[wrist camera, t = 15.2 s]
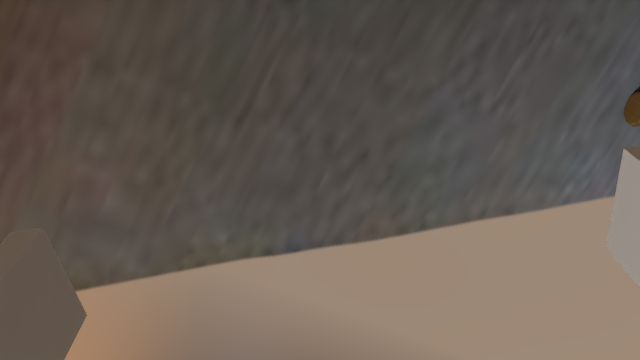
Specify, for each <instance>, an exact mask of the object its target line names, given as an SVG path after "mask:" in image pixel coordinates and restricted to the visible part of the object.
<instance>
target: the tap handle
mask: <svg viewBox="0 0 640 360" xmlns="http://www.w3.org/2000/svg"><path fill="white" fill-rule="evenodd" d="M624 116H625V119H626V121H627V122H628V123H629V124H631V125H632V126H640V91H638V92H635V93H634V94H633V95H632V96H631V97H630V98H629V99H628V101H627V103H626V105H625V109H624Z"/></svg>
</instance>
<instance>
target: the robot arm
mask: <svg viewBox="0 0 640 360" xmlns="http://www.w3.org/2000/svg"><path fill="white" fill-rule="evenodd" d="M606 249H607V250H608V251H609V253H610V254H611V255H612V256H613V257H614V258H615V260H616V261H617V262H618V263H619V264H620V265H621V267H622V268H623V269H624V270H625V271H626V272H627V273H628V275H629V276H630V277H631V278H632V279H633V280H634V282H635V283H636V284H637V285H638V286H639V287H640V146H638V147H631V148H624V150H623V155H622V161H621V166H620V172H619V177H618V183H617V188H616V194H615V199H614V205H613V210H612V216H611V222H610V228H609V233H608V238H607V244H606ZM86 316H87V315H86V312H85V310H84V308H83V306H82V305H81V302H80V301H79V298H78V296H77V294H76V292H75V290H74V288H73V286H72V284H71V282H70V280H69V279H68V277H67V275H66V273H65V271H64V269H63V267H62V265H61V263H60V261H59V259H58V257H57V255H56V253H55V251H54V249H53V247H52V245H51V243H50V241H49V239H48V237H47V235H46V233H45V231H44V229H43V228H36V229H28V230H21V231H13V232H10V233H9V234H8V235H7V237H6V238H5V239H4V240H3V241H2V242H1V244H0V360H64V359H65V357H66V355H67V353H68V351H69V349H70V347H71V345H72V343H73V341H74V339H75V337H76V335H77V333H78V331H79V329H80V327H81V325H82V324H83V321H84V319H85V317H86Z"/></svg>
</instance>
